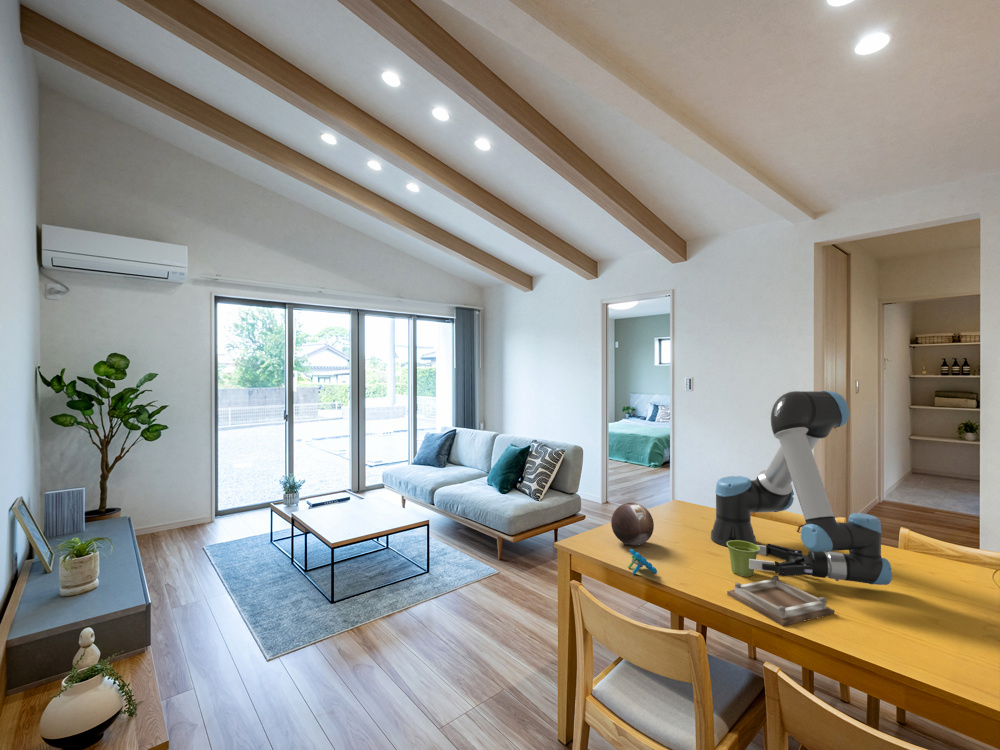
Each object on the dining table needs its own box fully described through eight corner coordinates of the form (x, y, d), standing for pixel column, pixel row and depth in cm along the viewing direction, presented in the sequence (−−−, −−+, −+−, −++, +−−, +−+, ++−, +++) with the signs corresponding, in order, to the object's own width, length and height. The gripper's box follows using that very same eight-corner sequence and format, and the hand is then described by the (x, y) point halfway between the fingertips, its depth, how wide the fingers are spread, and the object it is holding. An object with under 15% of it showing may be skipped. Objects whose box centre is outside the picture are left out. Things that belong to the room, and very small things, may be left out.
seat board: (775, 585, 145) (775, 573, 144) (834, 613, 128) (834, 600, 128) (727, 594, 139) (727, 582, 139) (782, 626, 122) (783, 611, 122)
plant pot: (756, 569, 156) (757, 542, 156) (762, 581, 147) (762, 552, 147) (724, 565, 159) (725, 538, 159) (728, 576, 150) (728, 549, 150)
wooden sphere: (632, 555, 168) (632, 511, 168) (602, 541, 181) (602, 501, 181) (662, 546, 176) (662, 505, 176) (631, 534, 189) (632, 496, 189)
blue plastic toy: (664, 573, 149) (641, 551, 149) (652, 589, 148) (629, 566, 147) (647, 564, 160) (625, 543, 159) (636, 578, 159) (614, 557, 158)
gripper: (838, 595, 133) (751, 584, 141) (814, 561, 157) (741, 553, 164) (838, 568, 133) (751, 558, 141) (814, 538, 157) (741, 531, 164)
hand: (746, 555), depth 152 cm, fingers open, 13 cm apart
